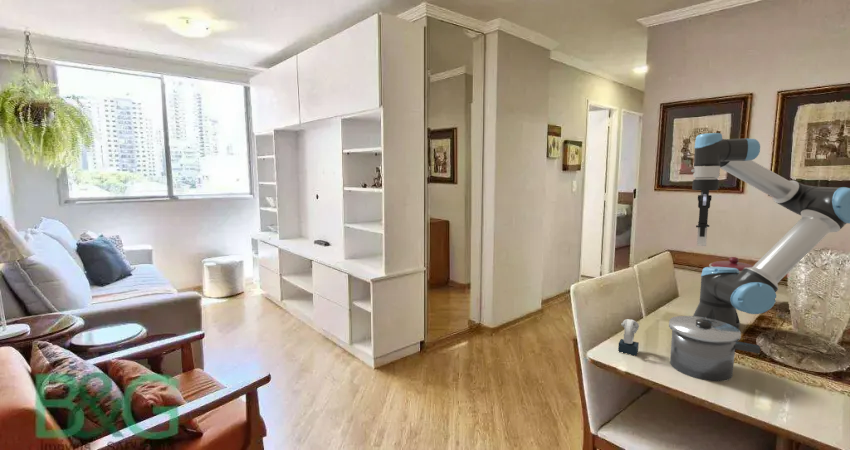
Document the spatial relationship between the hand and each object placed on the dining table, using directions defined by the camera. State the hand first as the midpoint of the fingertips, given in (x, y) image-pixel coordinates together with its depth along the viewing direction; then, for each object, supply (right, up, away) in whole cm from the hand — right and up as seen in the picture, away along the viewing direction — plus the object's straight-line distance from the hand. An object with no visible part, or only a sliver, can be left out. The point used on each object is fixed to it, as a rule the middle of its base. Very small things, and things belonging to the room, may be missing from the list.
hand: (701, 245), depth 144 cm
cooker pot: (-11, -37, -20) cm, 44 cm away
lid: (-13, -25, -21) cm, 35 cm away
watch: (-30, -36, -7) cm, 47 cm away
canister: (+44, -29, +45) cm, 69 cm away
